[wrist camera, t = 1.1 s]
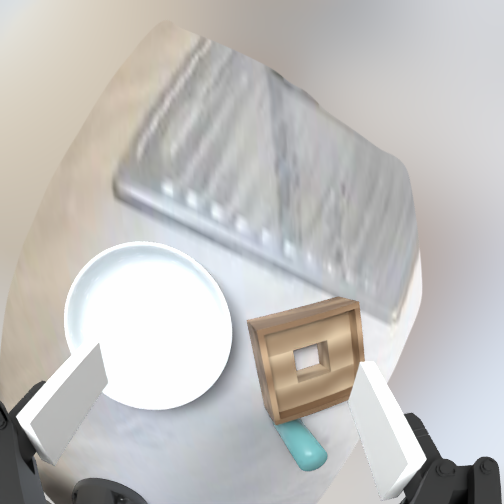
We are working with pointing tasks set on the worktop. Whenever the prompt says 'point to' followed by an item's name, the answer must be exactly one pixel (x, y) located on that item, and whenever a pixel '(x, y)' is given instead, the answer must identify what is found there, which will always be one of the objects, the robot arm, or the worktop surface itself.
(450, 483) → the robot arm
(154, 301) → the serving bowl
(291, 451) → the peg
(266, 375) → the bore box
